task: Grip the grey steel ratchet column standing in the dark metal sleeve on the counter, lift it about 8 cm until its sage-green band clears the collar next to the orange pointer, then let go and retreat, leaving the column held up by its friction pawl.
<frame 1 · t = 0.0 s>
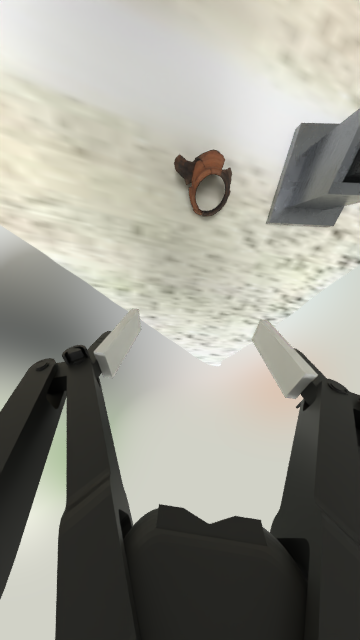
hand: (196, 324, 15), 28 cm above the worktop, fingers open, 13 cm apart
stand base: (313, 183, 28), on the worktop
pottery mug: (202, 185, 29), on the worktop
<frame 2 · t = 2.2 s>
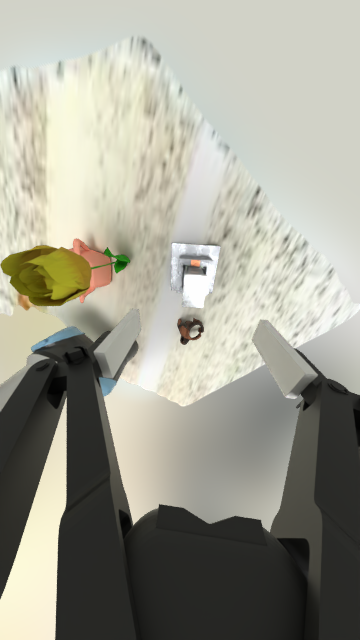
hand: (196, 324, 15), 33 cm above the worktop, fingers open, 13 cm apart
column: (193, 278, 33), point 12 cm above the worktop, slide at 0.0 cm
flower: (126, 258, 43), on the worktop
stand base: (193, 269, 43), on the worktop
pottery mug: (188, 326, 55), on the worktop
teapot: (97, 268, 46), on the worktop
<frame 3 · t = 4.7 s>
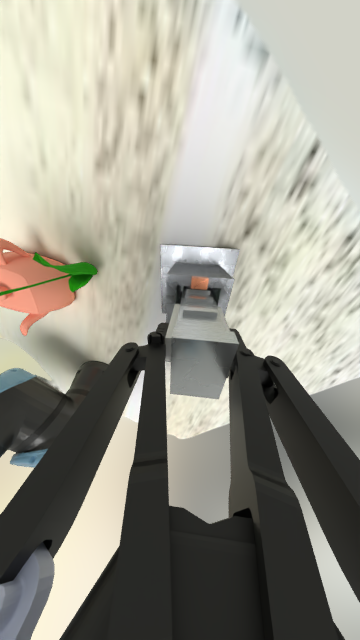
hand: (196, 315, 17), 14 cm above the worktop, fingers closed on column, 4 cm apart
column: (196, 308, 18), point 12 cm above the worktop, slide at 0.0 cm, touching gripper
flower: (93, 266, 29), on the worktop
stand base: (195, 283, 28), on the worktop
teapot: (54, 281, 31), on the worktop
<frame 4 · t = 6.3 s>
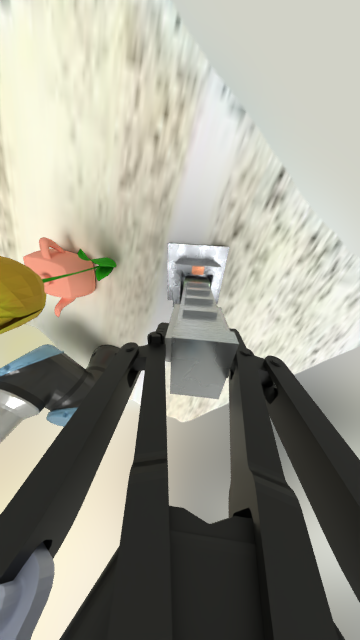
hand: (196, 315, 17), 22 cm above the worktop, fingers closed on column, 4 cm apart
column: (196, 308, 18), point 20 cm above the worktop, slide at 7.9 cm, touching gripper
flower: (112, 261, 35), on the worktop
stand base: (194, 275, 35), on the worktop
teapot: (78, 273, 38), on the worktop
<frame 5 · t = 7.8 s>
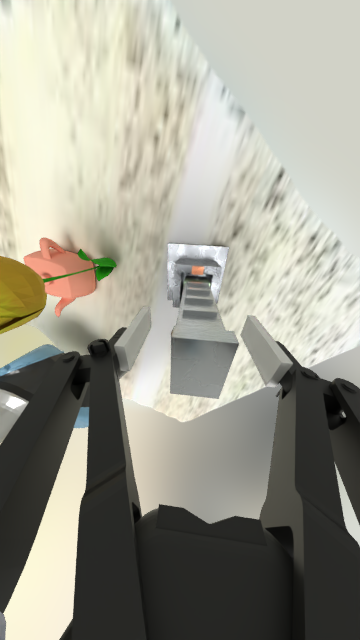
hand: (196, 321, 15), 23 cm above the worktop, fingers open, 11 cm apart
column: (196, 308, 18), point 20 cm above the worktop, slide at 8.0 cm
flower: (113, 261, 35), on the worktop
stand base: (194, 275, 35), on the worktop
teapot: (78, 273, 38), on the worktop
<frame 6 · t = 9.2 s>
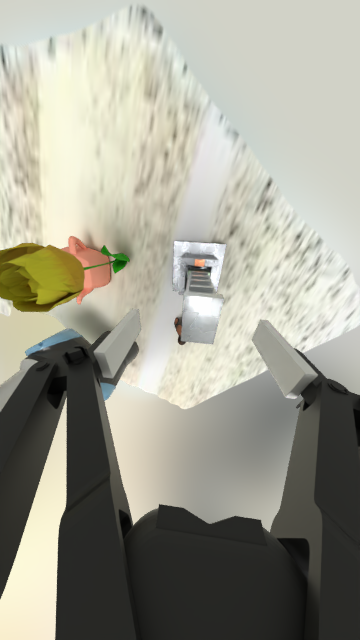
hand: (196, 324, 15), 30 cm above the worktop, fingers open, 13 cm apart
column: (198, 291, 24), point 20 cm above the worktop, slide at 8.0 cm
flower: (126, 256, 41), on the worktop
stand base: (196, 269, 40), on the worktop
pottery mug: (186, 325, 52), on the worktop
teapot: (95, 267, 44), on the worktop
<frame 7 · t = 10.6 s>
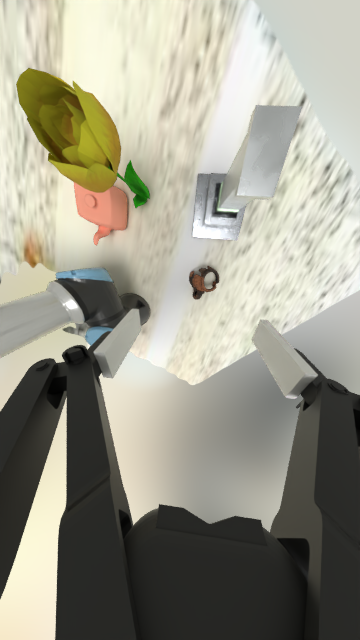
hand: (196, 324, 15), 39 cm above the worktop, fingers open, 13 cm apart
column: (237, 189, 22), point 20 cm above the worktop, slide at 8.0 cm
flower: (145, 197, 39), on the worktop
stand base: (218, 210, 39), on the worktop
pottery mug: (201, 280, 50), on the worktop
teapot: (112, 212, 42), on the worktop
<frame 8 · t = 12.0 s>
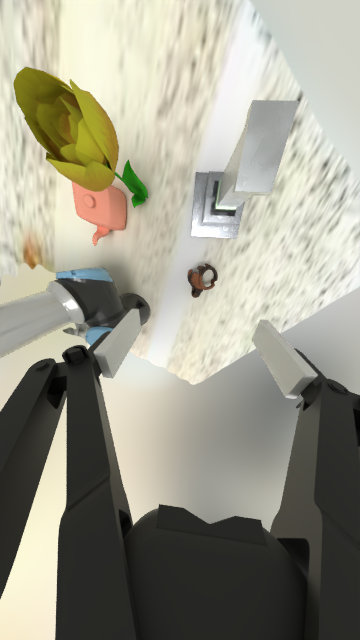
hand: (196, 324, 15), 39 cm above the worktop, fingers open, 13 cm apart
column: (235, 186, 22), point 20 cm above the worktop, slide at 8.0 cm
flower: (143, 197, 39), on the worktop
stand base: (217, 209, 39), on the worktop
pottery mug: (199, 278, 50), on the worktop
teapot: (110, 212, 42), on the worktop
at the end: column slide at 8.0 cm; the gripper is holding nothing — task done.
